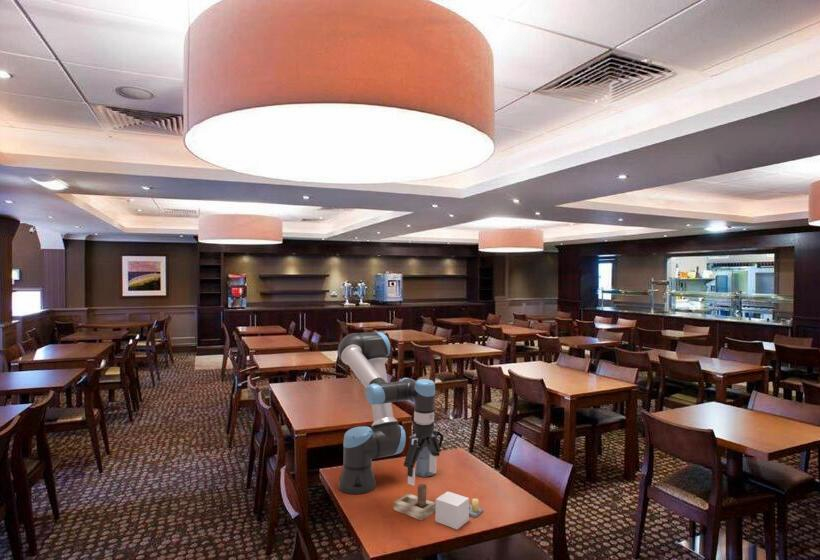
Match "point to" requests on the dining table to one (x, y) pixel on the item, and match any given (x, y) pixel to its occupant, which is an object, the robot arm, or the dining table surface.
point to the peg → (421, 496)
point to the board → (475, 508)
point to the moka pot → (425, 459)
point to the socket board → (414, 507)
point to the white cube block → (452, 510)
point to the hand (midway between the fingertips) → (422, 478)
